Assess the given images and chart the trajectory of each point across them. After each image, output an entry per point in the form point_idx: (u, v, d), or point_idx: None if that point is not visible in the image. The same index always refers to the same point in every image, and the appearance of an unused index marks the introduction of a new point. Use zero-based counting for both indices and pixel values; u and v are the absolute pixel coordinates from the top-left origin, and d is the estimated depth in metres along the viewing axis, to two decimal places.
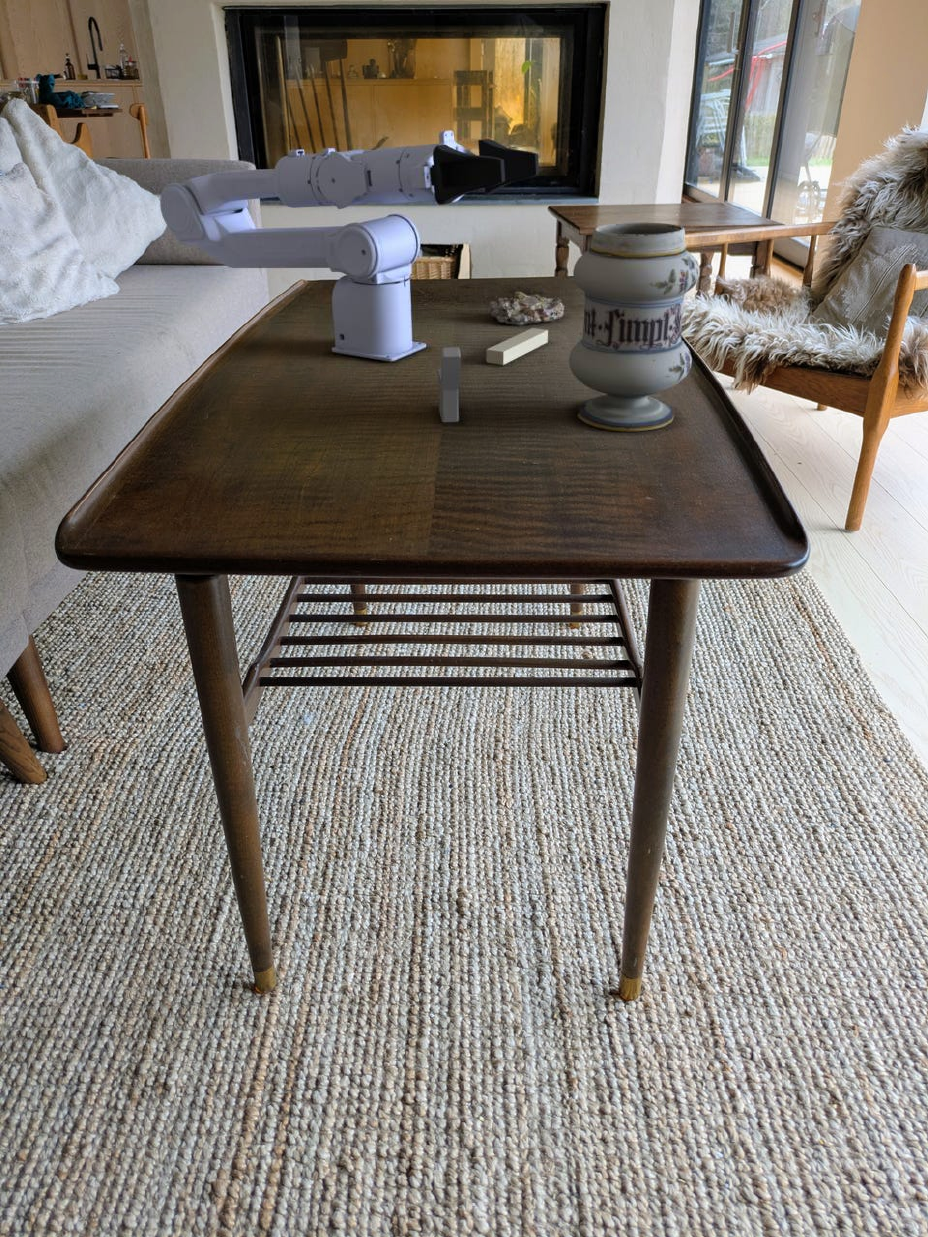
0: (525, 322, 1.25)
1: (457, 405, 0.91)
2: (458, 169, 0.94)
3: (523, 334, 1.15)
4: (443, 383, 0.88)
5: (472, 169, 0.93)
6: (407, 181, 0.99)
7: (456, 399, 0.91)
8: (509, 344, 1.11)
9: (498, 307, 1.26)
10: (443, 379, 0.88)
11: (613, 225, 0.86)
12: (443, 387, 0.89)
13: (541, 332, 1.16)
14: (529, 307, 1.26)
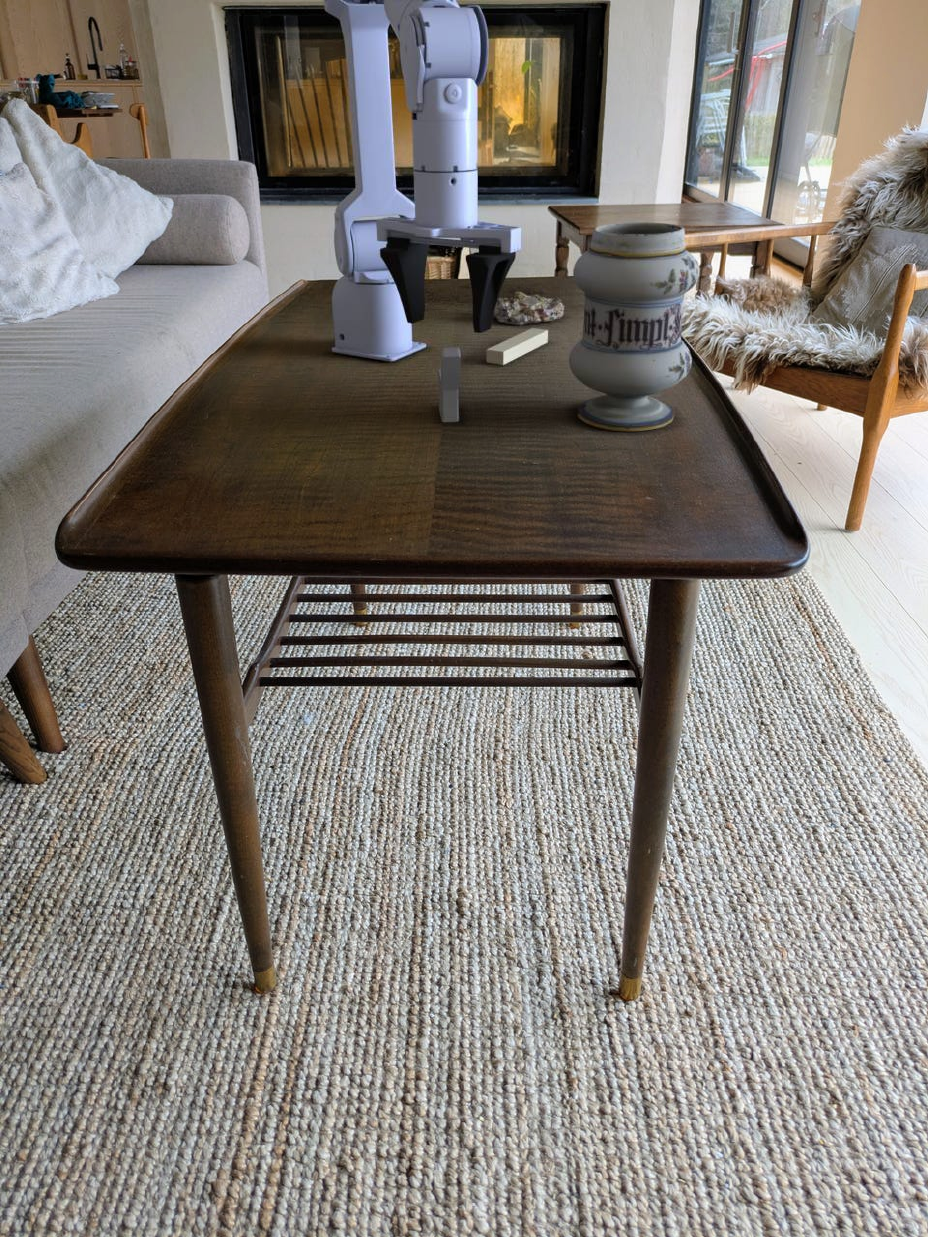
0: (525, 322, 1.25)
1: (457, 405, 0.91)
2: None
3: (523, 334, 1.15)
4: (443, 383, 0.88)
5: None
6: None
7: (456, 399, 0.91)
8: (509, 344, 1.11)
9: (498, 307, 1.26)
10: (443, 379, 0.88)
11: (613, 225, 0.86)
12: (443, 387, 0.89)
13: (541, 332, 1.16)
14: (529, 307, 1.26)
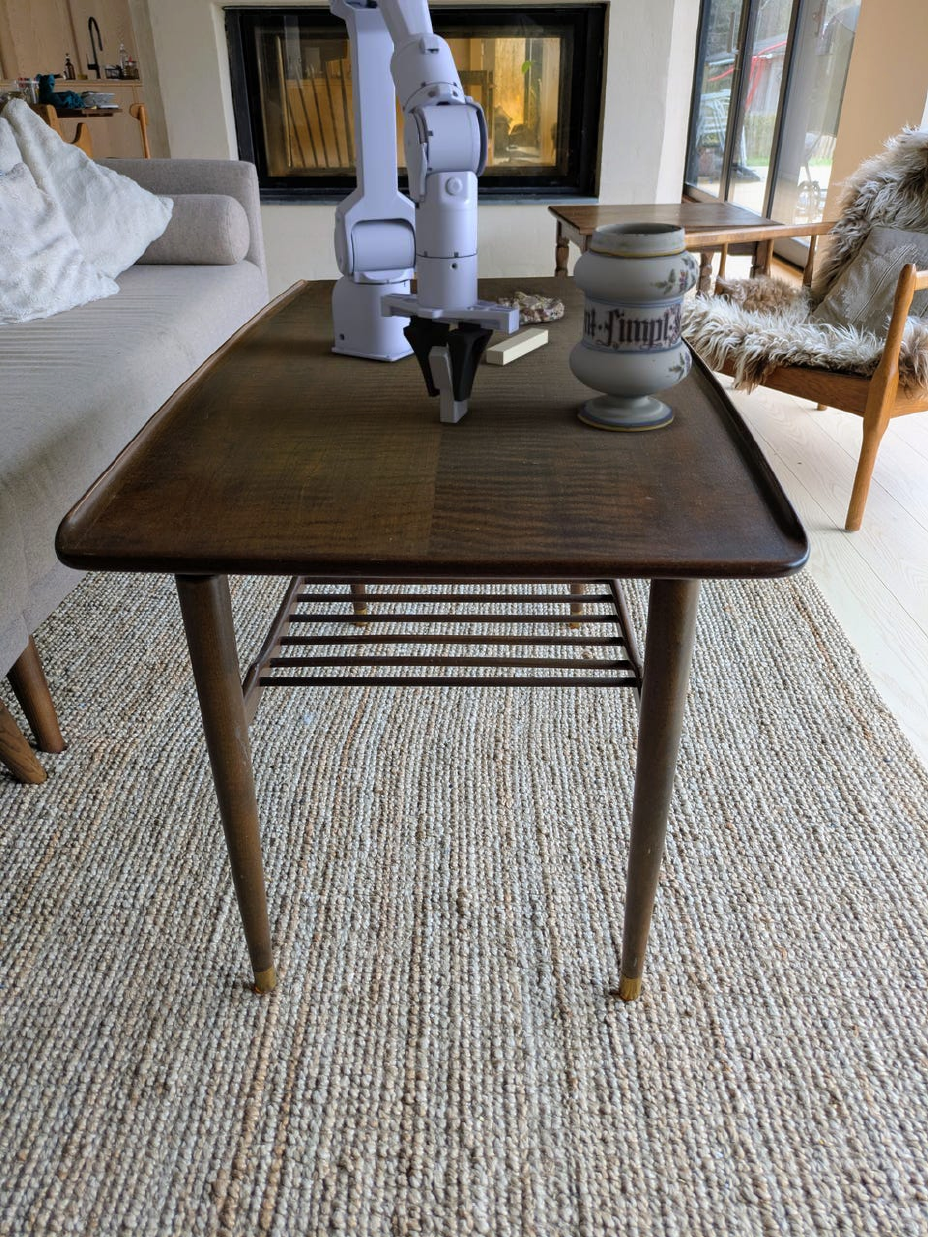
0: (525, 322, 1.25)
1: (454, 406, 0.91)
2: None
3: (523, 334, 1.15)
4: (434, 382, 0.88)
5: None
6: None
7: (453, 400, 0.90)
8: (509, 344, 1.11)
9: None
10: (433, 378, 0.88)
11: (613, 225, 0.86)
12: (435, 386, 0.89)
13: (541, 332, 1.16)
14: (529, 307, 1.26)
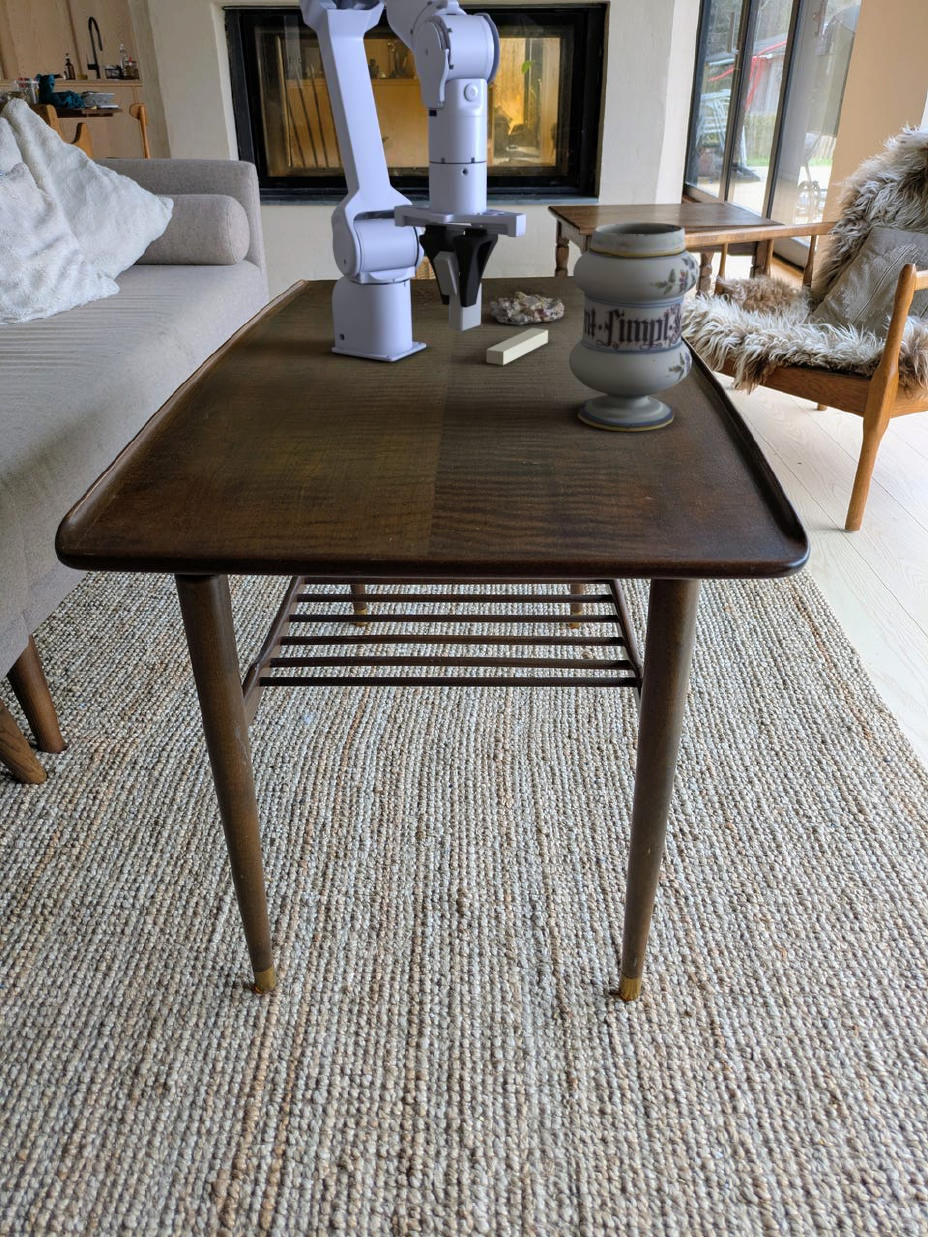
0: (525, 322, 1.25)
1: (461, 314, 0.95)
2: None
3: (523, 334, 1.15)
4: (441, 287, 0.93)
5: None
6: None
7: (460, 308, 0.95)
8: (509, 344, 1.11)
9: (498, 307, 1.26)
10: (440, 283, 0.93)
11: (613, 225, 0.86)
12: (442, 291, 0.94)
13: (541, 332, 1.16)
14: (529, 307, 1.26)
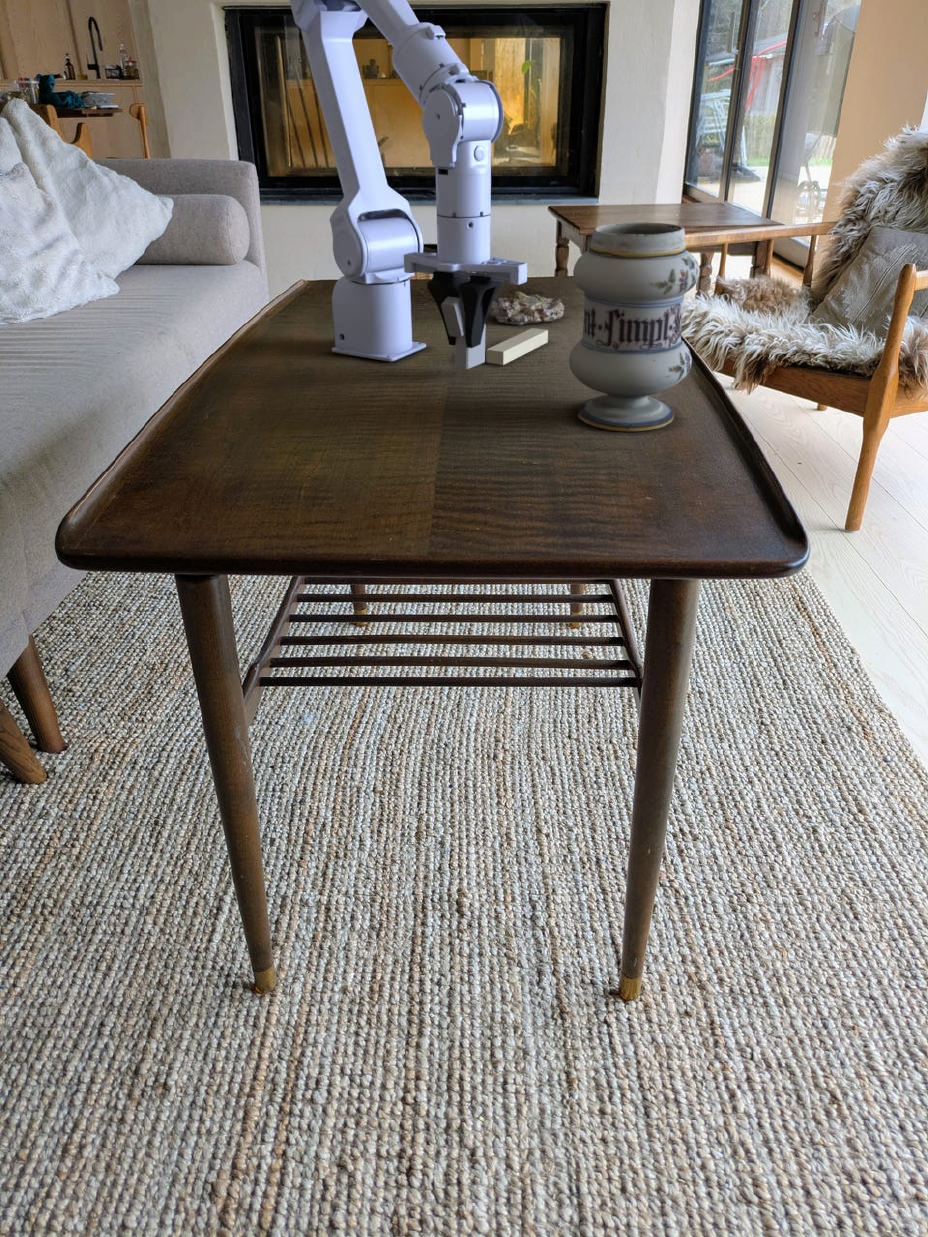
0: (525, 322, 1.25)
1: (466, 354, 1.02)
2: None
3: (523, 334, 1.15)
4: (448, 329, 1.00)
5: None
6: None
7: (466, 348, 1.02)
8: (509, 344, 1.11)
9: (498, 307, 1.26)
10: (447, 325, 1.00)
11: (613, 225, 0.86)
12: (449, 333, 1.00)
13: (541, 332, 1.16)
14: (529, 307, 1.26)
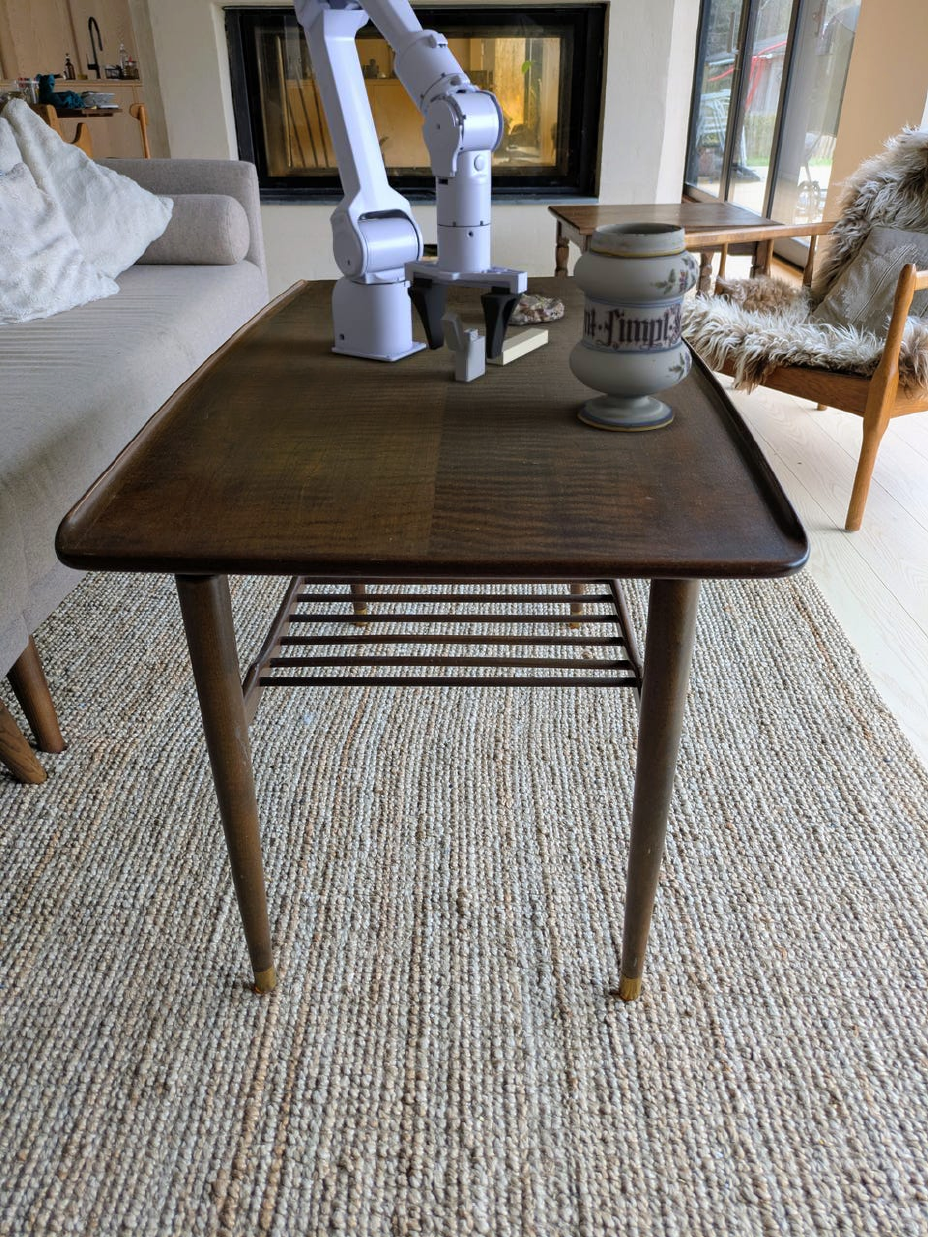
0: (525, 322, 1.25)
1: (466, 367, 1.03)
2: None
3: (523, 334, 1.15)
4: (447, 343, 1.01)
5: None
6: None
7: (465, 361, 1.02)
8: (509, 344, 1.11)
9: None
10: (446, 340, 1.00)
11: (613, 225, 0.86)
12: (449, 347, 1.01)
13: (541, 332, 1.16)
14: (529, 307, 1.26)
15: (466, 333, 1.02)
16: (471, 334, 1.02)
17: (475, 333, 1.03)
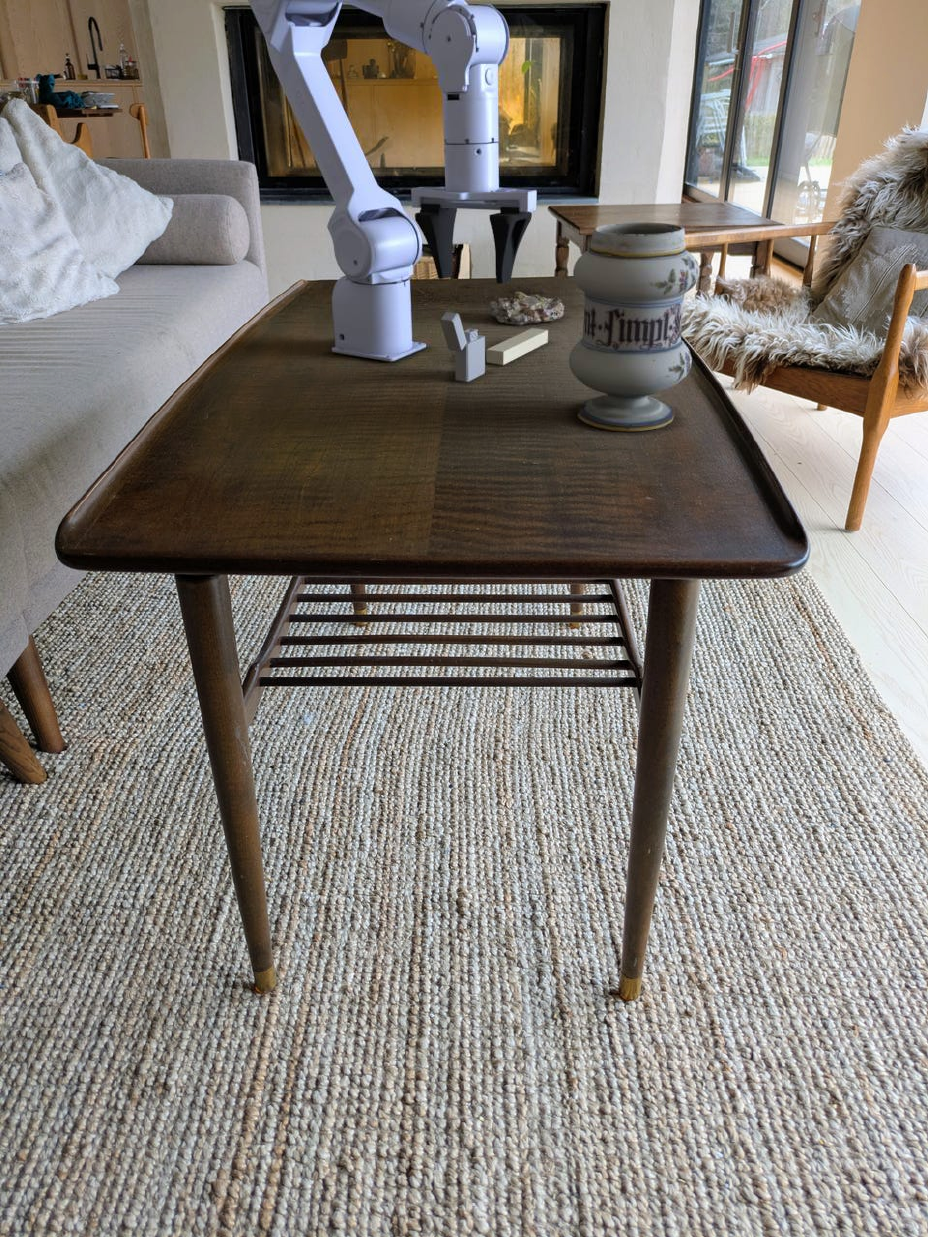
0: (525, 322, 1.25)
1: (466, 367, 1.03)
2: None
3: (523, 334, 1.15)
4: (447, 343, 1.01)
5: None
6: None
7: (465, 361, 1.02)
8: (509, 344, 1.11)
9: (498, 307, 1.26)
10: (446, 340, 1.00)
11: (613, 225, 0.86)
12: (449, 347, 1.01)
13: (541, 332, 1.16)
14: (529, 307, 1.26)
15: (466, 333, 1.02)
16: (471, 334, 1.02)
17: (475, 333, 1.03)
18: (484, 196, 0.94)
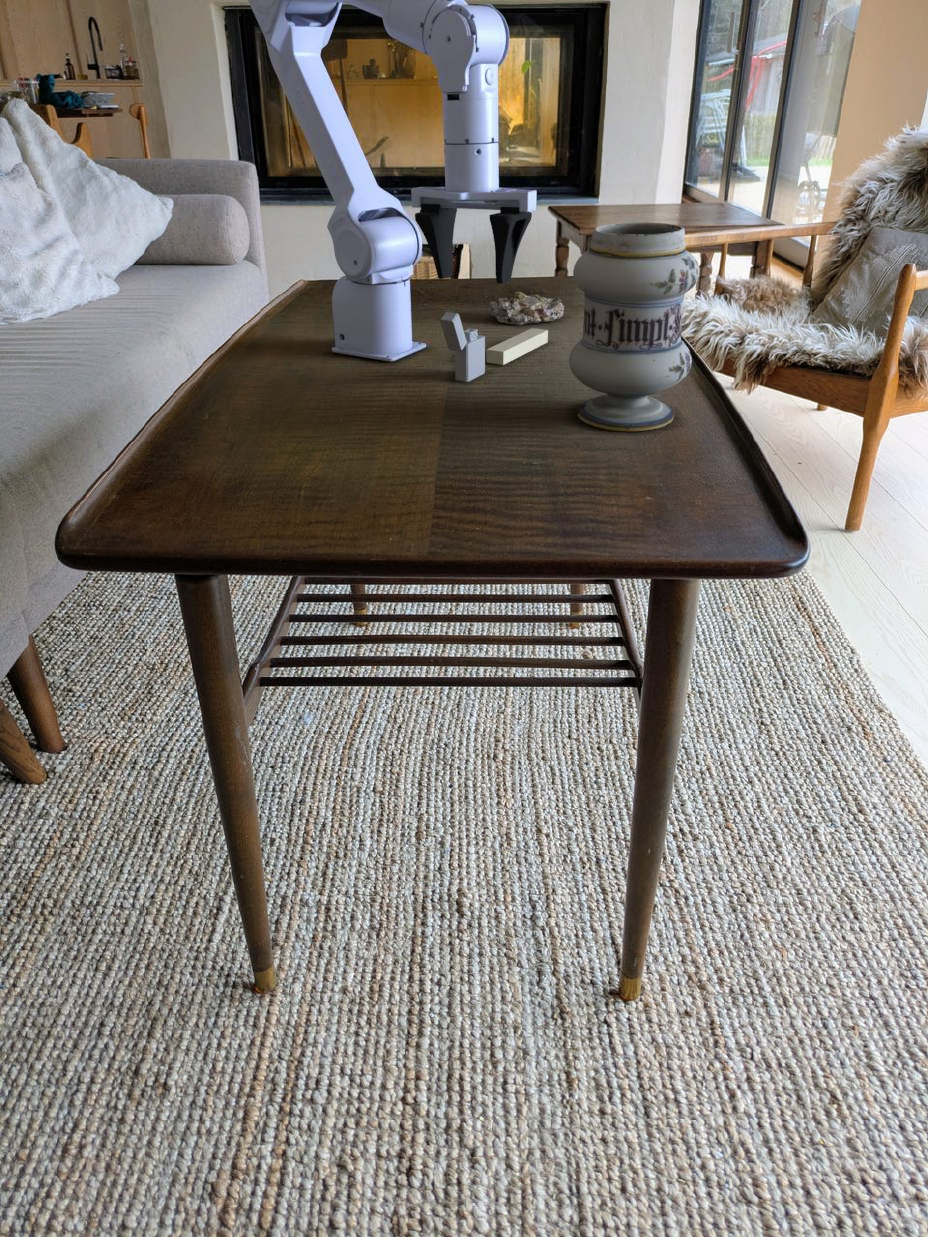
0: (525, 322, 1.25)
1: (466, 367, 1.03)
2: None
3: (523, 334, 1.15)
4: (447, 343, 1.01)
5: None
6: None
7: (465, 361, 1.02)
8: (509, 344, 1.11)
9: (498, 307, 1.26)
10: (446, 340, 1.00)
11: (613, 225, 0.86)
12: (449, 347, 1.01)
13: (541, 332, 1.16)
14: (529, 307, 1.26)
15: (466, 333, 1.02)
16: (471, 334, 1.02)
17: (475, 333, 1.03)
18: (484, 196, 0.94)
